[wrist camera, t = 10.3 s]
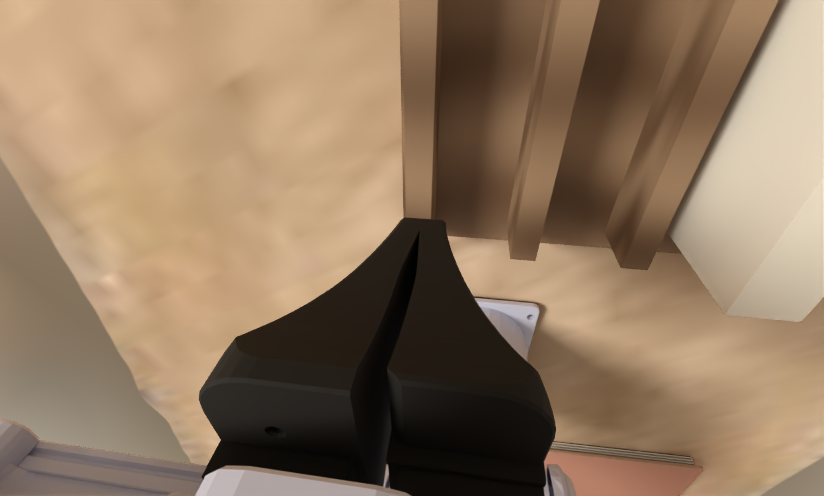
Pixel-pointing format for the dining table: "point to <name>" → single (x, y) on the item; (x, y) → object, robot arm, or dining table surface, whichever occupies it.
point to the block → (764, 179)
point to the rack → (565, 115)
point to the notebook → (622, 471)
